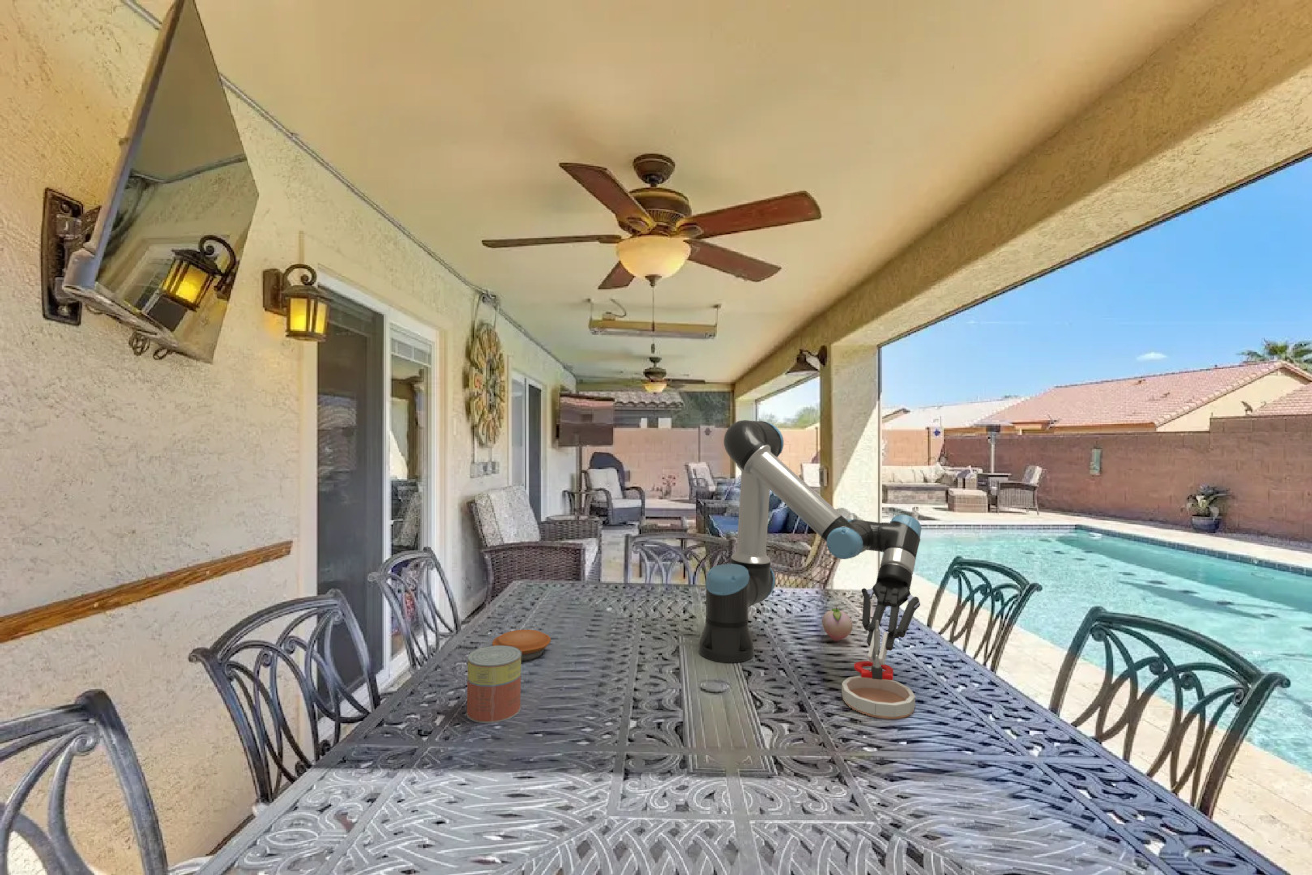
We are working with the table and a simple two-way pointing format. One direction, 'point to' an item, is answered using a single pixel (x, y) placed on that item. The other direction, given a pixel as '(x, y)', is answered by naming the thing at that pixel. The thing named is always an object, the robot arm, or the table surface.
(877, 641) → the tow hook
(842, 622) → the decorative fruit
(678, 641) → the table surface
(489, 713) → the canned food
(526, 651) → the pie
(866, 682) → the round tray
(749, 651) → the robot arm
